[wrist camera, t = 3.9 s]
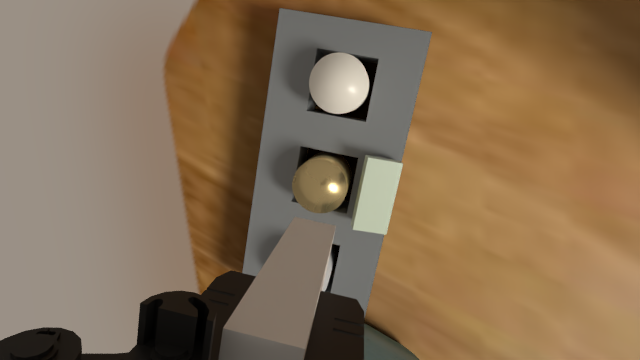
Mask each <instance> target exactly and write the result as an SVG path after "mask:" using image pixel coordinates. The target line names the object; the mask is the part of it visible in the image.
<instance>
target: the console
mask: <svg viewBox="0 0 640 360" xmlns="http://www.w3.org/2000/svg"><path fill="white" fill-rule="evenodd" d="M431 34H432V32H428V31H422V30H415V29H409V28H403V27H396V26H390V25H384V24H378V23H371V22H365V21H359V20H352V19H346V18H340V17H333V16H327V15H321V14H314V13H308V12H302V11H295V10H289V9H283V8H280V10H279V17H278V24H277V31H276V38H275V45H274V52H273V59H272V66H271V73H270V81H269V88H268V95H267V102H266V109H265V116H264V123H263V130H262V137H261V144H260V151H259V158H258V165H257V173H256V180H255V187H254V194H253V201H252V208H251V215H250V222H249V229H248V236H247V243H246V250H245V257H244V265H243V272H242V273H244V274H248V275H252V276H257V275H258V273H259V271H260V270H261V268H262V267H263V265H264V264H265V262H266V261H267V259H268V258H269V256H270V254H271V253H272V251H273V250H274V248H275V247H276V245H277V244H278V242H279V240H280V239H281V237H282V236H283V234H284V233H285V231H286V230H287V228H288V226H289V225H290V223H291V222H292V220H293V219H294V217H298V218H303V219H307V220H312V221H316V222H321V223H325V224H329V225H334V226H336V229H335V233H334V238H333V243H332V244H335V245H340V249H339V254H338V259H337V264H336V269H335V273H334V275H330V278H329V282H328V285H327V288H326V290H325V292H329V293H333V294H337V295H341V296H345V297H350V298H354V299H357V300H358V302H359V304H360V305H361V307H362V309H363V310H364V318H365V314H366V310H367V305H368V301H369V297H370V293H371V288H372V284H373V280H374V276H375V271H376V267H377V263H378V259H379V255H380V250H381V246H382V242H383V238H384V234H378V233H372V232H365V231H359V230H353V229H352V226H351V221H352V216H353V212H354V207H355V202H356V197H357V193H358V188H359V183H360V178H361V174H362V169H363V164H364V160H365V155H369V156H375V157H376V156H382V157H386V158H388V159H393V160H398V161H400V162H401V161H402V157H403V153H404V149H405V144H406V140H407V136H408V132H409V127H410V123H411V119H412V115H413V110H414V106H415V102H416V98H417V94H418V89H419V85H420V81H421V77H422V72H423V68H424V64H425V60H426V55H427V51H428V47H429V43H430V38H431ZM337 52H341V53H347V54H350V55H352V56H354V57H355V58H357V59H358V60H359V61H363V62H369V63H375V64H378V66H377V71H376V76H375V80H374V85H373V90H372V95H371V100H370V105H369V109H368V114H367V119H366V120H364V119H359V118H354V117H348V116H343V115H338V114H333V113H327V112H322V111H317V110H315V106H316V103H315V101H314V100H313V98H312V96H311V93H310V89H309V79H310V74H311V72H312V69H313V68H314V66H315V65H316V63H317V62H318V61H319V60H320V59H321V58H323V57H324V55H328V54H331V53H337ZM308 148H312V149H317V150H322V151H327V152H332V153H337V154H342V155H347V156H352V157H357V158H358V162H357V167H356V172H355V177H354V182H353V187H352V191H351V196H350V201H344V200H343V202H342V203H341V205H340V206H339V207H338V208H336V209H335V210H333V211H331V212H328V213H313V212H310V211H308V210H306V209H305V208H303V207H302V206H301V205H300V204H299V203H298V202H297V200H296V198H295V196H294V194H293V190H292V181H293V177H294V174H295V173H296V171H297V170H298V168H299V167H300V166H301V165H303V164H304V163H305V162H306V158H307V152H308Z"/></svg>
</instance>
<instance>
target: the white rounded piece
mask: <svg viewBox="0 0 640 360" xmlns="http://www.w3.org/2000/svg"><path fill="white" fill-rule="evenodd" d="M309 89H310V93H311V96H312V98H313V100H314V101H315V103H316V104H317V105H318V106H319V107H320V108H322V109H323V110H325V111H327V112H329V113H333V114H343V113H347V112H351V111H354V110H356V109H358V108H359V107H360V106H362V105H363V103H364V102H365V101H366V99H367V97H368V95H369V91H370V81H369V77H368V75H367V72H366V70H365V68H364V66H363V64H362V63H361V62H360V61H359V60H358V59H357V58H355V57H354V56H352V55H350V54H347V53H341V52H337V53H331V54H328V55H326V56H324V57H323V58H321V59H320V60H319V61H318V62H317V63H316V65H315V66H314V68H313V69H312V72H311V74H310V79H309Z"/></svg>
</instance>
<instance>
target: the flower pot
mask: <svg viewBox="0 0 640 360" xmlns="http://www.w3.org/2000/svg"><path fill="white" fill-rule="evenodd" d="M364 360H419V359H418V358H417V357H416V356H415V355H414V354H413V353H412V352H411V351H409V350H408V349H407V348H405V347H404V346H403V345H401V344H399V343H398V342H396V341H394V340H392V339H391V338H389V337H387V336H386V335H384V334H382V333H380V332H379V331H377V330H375V329H374V328H372V327H371V326H369V325H367V324H364Z"/></svg>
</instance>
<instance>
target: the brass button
mask: <svg viewBox="0 0 640 360" xmlns="http://www.w3.org/2000/svg"><path fill="white" fill-rule="evenodd" d="M351 178H352V172H351V168H350V165H349V163H348V162H347V160H346V159H345V158H344V157H343V156H341V155H340V154H337V153H332V152H327V151H324V152H320V153H317V154H316V155H314V156H313V157H311V158H310V159H309V160H308V161H306V162H305V163H304V164H303V165H301V166H300V167H299V168H298V170H297V171H296V173H295V174H294V177H293V181H292V190H293V194H294V196H295V198H296V200H297V202H298V203H299V204H300V205H301V206H302V207H303V208H305V209H306V210H308V211H310V212H313V213H328V212H331V211H333V210H335V209H336V208H338V207H339V206H340V205H341V203H342V202H343V200H344V199H345V196H346V194H347V191H348V188H349V185H350V182H351Z"/></svg>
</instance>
